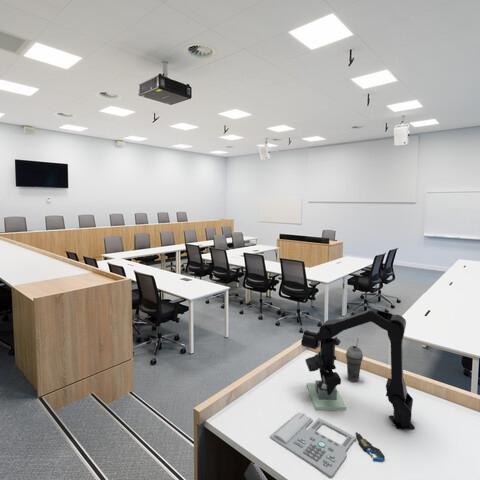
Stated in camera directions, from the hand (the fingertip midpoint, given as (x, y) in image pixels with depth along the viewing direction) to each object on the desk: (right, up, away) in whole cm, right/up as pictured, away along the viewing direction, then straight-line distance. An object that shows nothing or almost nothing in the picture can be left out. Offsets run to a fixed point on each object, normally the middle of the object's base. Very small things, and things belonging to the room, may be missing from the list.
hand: (325, 387), depth 131 cm
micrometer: (+7, -9, -26) cm, 28 cm away
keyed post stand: (0, -4, +1) cm, 4 cm away
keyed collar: (0, -3, 0) cm, 3 cm away
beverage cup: (+16, -3, +14) cm, 21 cm away
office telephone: (-10, -8, -22) cm, 26 cm away
